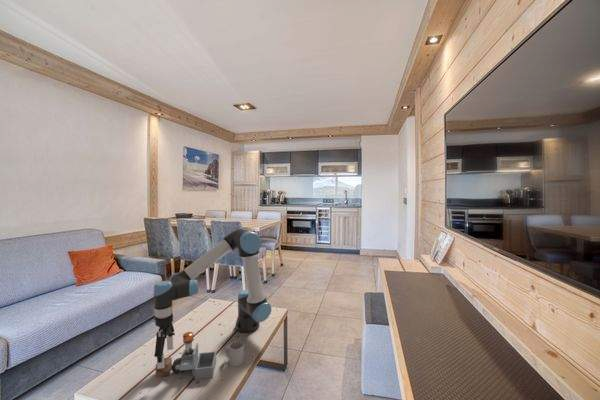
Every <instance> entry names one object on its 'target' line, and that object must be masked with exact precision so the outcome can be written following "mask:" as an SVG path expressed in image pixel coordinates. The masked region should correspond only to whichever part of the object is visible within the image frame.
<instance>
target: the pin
mask: <svg viewBox="0 0 600 400" xmlns="http://www.w3.org/2000/svg"><path fill="white" fill-rule="evenodd" d="M194 336H195V333H194V332H192V331H187V332H184V333H183V335H182V343H183V344H184V350H185V355H192V349H193V344H192V343H193V342H194V340H195V339H194V338H195V337H194Z"/></svg>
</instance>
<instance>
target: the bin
mask: <svg viewBox="0 0 600 400" xmlns="http://www.w3.org/2000/svg"><path fill="white" fill-rule="evenodd" d="M216 364H217V351H208V352H207V351H206V352H200V353H198V360H197V363H196V366H195V375H194V381H195V380H197V381H198V380H203V379H204V380H205V379H213V378H214V373H215V368H216Z"/></svg>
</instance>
